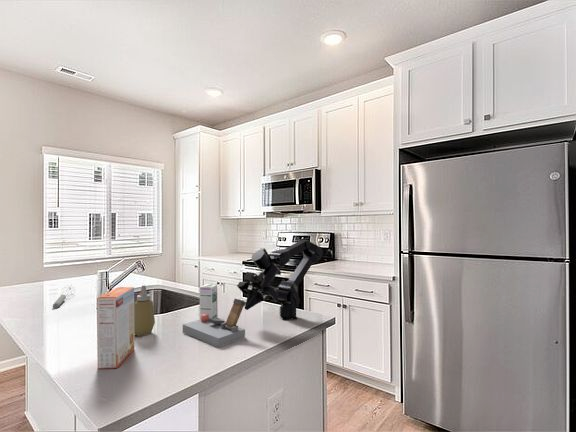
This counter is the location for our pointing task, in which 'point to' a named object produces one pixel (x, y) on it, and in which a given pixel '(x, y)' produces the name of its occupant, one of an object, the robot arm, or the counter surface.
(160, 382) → the counter surface
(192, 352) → the counter surface
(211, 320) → the block
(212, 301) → the syrup box
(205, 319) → the button
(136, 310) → the squeeze bottle
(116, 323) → the cracker box
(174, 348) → the counter surface
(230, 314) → the lever
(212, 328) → the panel
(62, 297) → the kitchen whisk
